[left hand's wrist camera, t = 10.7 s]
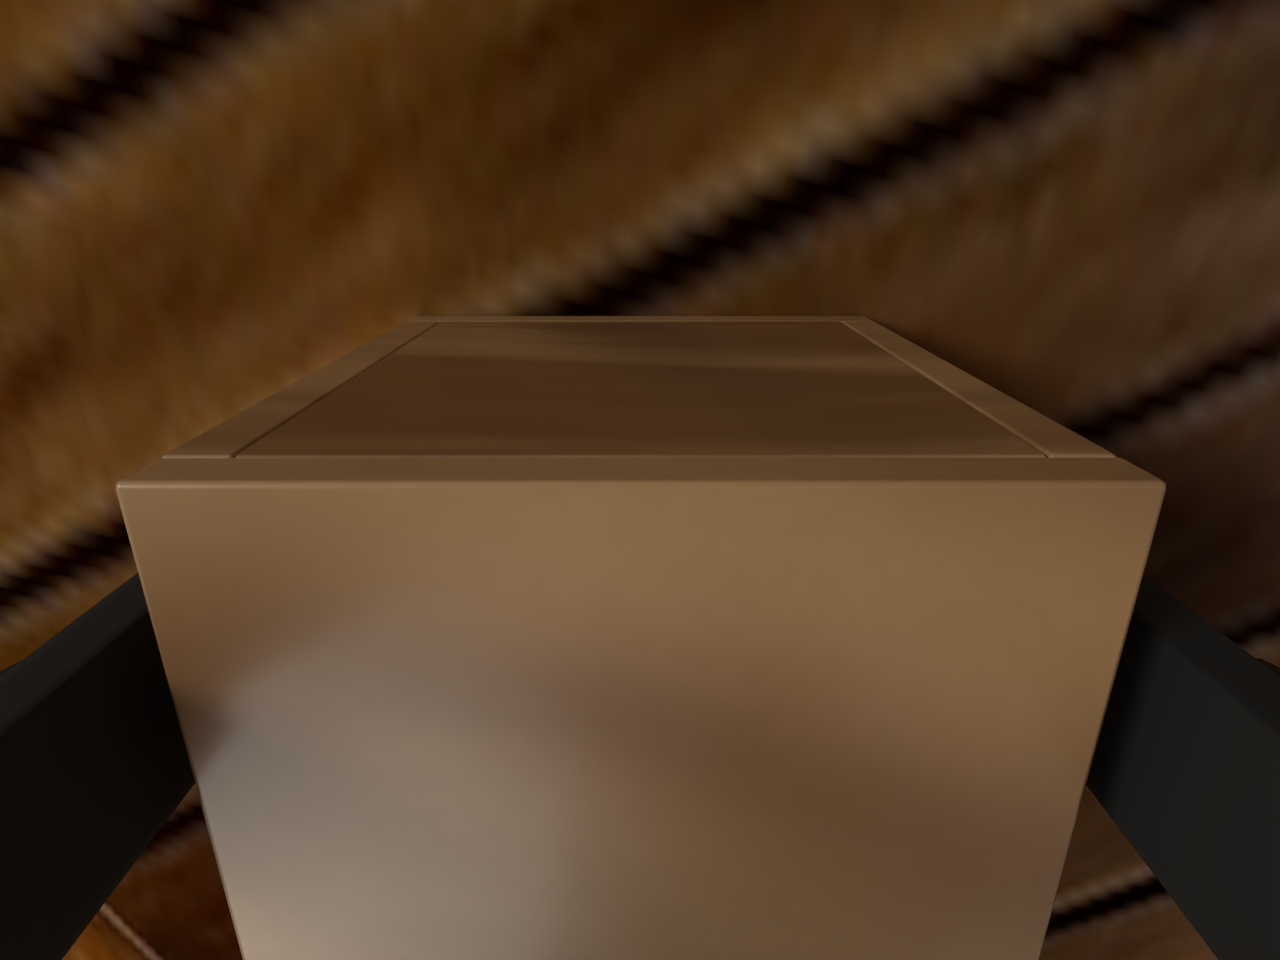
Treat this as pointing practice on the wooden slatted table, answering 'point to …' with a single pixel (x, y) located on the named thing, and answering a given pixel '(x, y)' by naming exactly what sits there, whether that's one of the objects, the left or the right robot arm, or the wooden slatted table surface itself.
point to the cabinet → (640, 644)
